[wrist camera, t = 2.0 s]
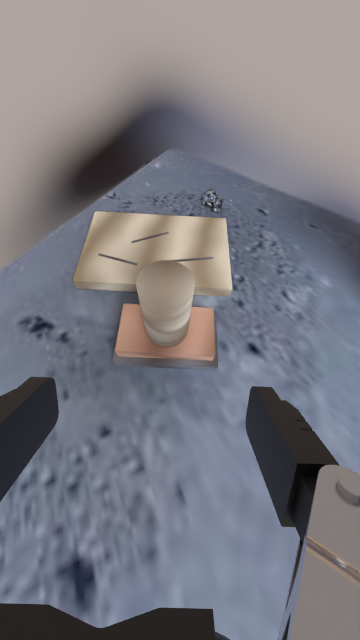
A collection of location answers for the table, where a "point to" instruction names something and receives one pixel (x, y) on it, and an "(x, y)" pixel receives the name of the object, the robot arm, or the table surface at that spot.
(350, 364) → the table surface
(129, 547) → the table surface
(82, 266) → the board
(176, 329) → the block
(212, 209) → the gravel pile
